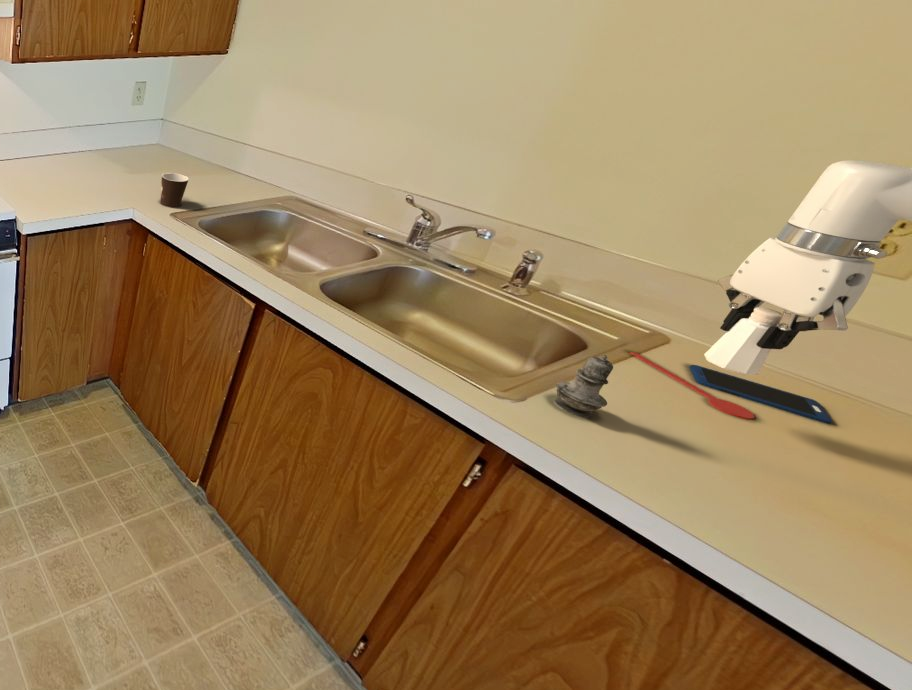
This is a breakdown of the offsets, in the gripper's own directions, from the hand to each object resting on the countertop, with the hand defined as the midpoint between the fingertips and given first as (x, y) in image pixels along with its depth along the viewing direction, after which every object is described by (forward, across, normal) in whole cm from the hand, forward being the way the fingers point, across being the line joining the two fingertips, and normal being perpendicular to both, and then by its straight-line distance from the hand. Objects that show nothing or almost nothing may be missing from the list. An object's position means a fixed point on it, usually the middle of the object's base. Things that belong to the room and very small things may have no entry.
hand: (750, 338), depth 84 cm
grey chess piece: (+16, -2, +23) cm, 28 cm away
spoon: (+15, +6, -5) cm, 18 cm away
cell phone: (+15, +5, -15) cm, 22 cm away
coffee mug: (+16, +90, +64) cm, 111 cm away
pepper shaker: (+6, 0, 0) cm, 6 cm away
